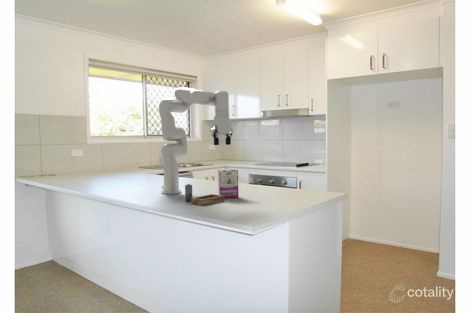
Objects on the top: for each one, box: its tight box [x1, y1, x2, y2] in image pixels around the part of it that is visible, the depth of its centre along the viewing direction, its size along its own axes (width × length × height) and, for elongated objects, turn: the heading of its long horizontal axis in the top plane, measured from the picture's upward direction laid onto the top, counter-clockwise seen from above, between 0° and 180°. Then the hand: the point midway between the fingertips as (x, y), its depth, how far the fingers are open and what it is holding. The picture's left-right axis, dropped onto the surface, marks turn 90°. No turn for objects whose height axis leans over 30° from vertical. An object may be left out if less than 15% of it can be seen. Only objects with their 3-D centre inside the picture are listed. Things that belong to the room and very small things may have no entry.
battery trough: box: [190, 193, 225, 207], centre depth 187 cm, size 9×16×3 cm, turn 140°
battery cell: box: [184, 183, 193, 203], centre depth 191 cm, size 4×4×10 cm
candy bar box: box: [217, 168, 239, 199], centre depth 201 cm, size 11×5×16 cm, turn 105°
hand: (222, 144), depth 190 cm, fingers open, 9 cm apart
